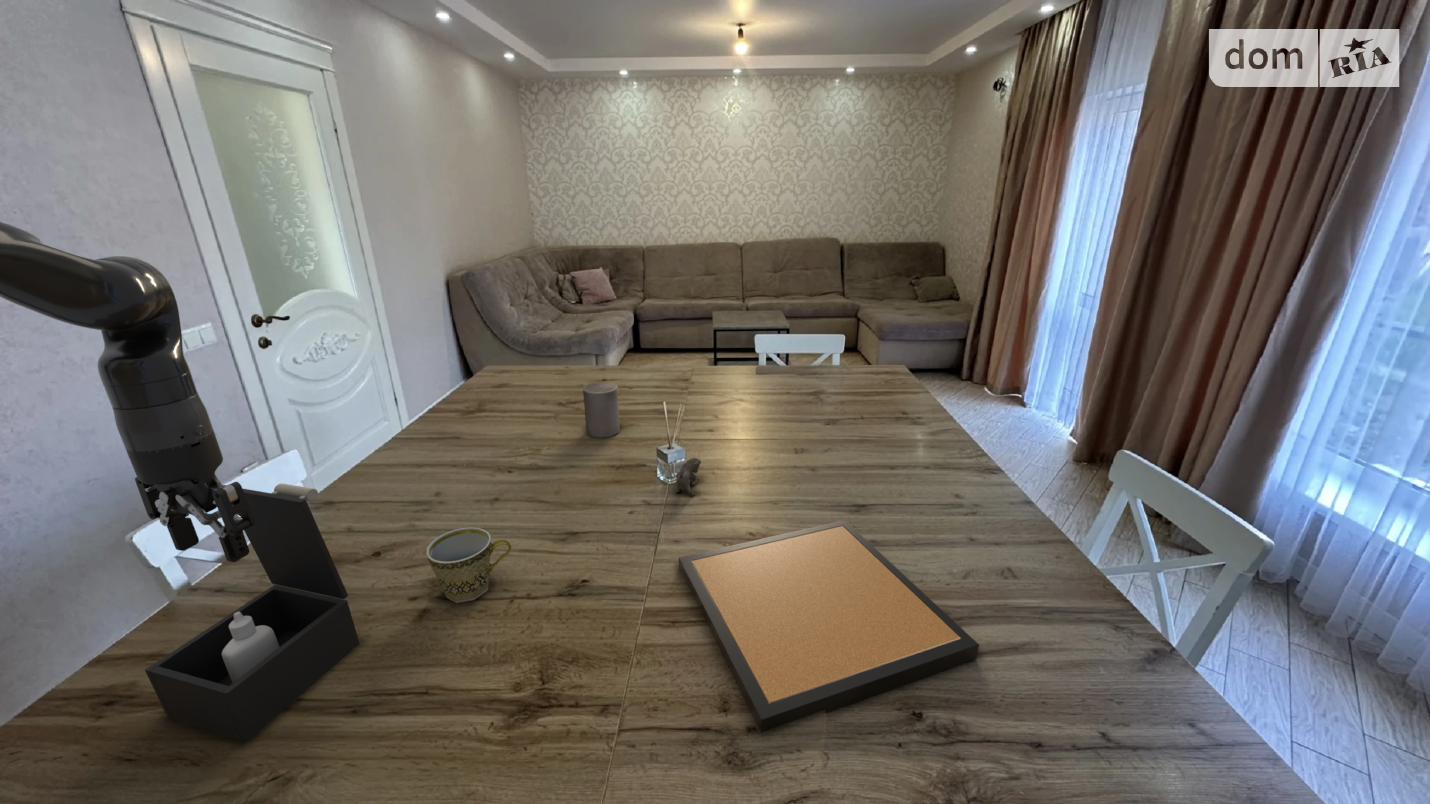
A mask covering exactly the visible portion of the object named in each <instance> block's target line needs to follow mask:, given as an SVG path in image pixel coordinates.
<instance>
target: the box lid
mask: <svg viewBox="0 0 1430 804" xmlns="http://www.w3.org/2000/svg"><path fill="white" fill-rule="evenodd" d="M242 489H243V491H244V494H245V496H246V499H247V502H248V504H249V507H250V509H251V512H252V515H253V517H254V520H255V525H253V526H251V527H249V528H247V529H245V530H243V532H244V534H245V535H246V537H247V540H248V541H249V542H250V543H249V544H250V545H251V547H252V549H253V551H254V553H255V554H256V556H257V558H258V561H259V562H260V564H261V566H262V569H264V572H265V574H266V576H267V577H268V579H269V581H270V583H271V584H272V585H279V586H284V587H288V588H293V589H298V590H302V591H307V592H311V593H316V594H321V595H325V596H330V597H334V598H339V599H343V600H346V598H348V597H349V593H348V592H347V589H346V587H345V585H344V583H343V580H342V578H341V576H340V574H339V572H338V569H337V567H336V565H335V563H334V560H333V558H332V556H331V553H330V551H329V549H328V547H327V545H326V542H325V540H324V538H323V535H322V532H321V530H320V528H319V526H318V524H317V521H316V519H315V517H314V515H313V513H312V511H311V508H310V506H309V504H308V502H313V501H315V500H316V499H317V498H318V496H319V491H318V489H316V488H313V487H306V486H301V485H294V484H287V483H281V482H280V483H277V484H276V486H274V489H273V491H272V492H267V491H266V492H265V491H259V490H254V489H248V488H243V487H242ZM238 515H239V516H240V517H241V518H242V516H241V514H240V513H238Z"/></svg>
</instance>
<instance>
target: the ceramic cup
mask: <svg viewBox="0 0 1430 804" xmlns="http://www.w3.org/2000/svg"><path fill="white" fill-rule="evenodd" d="M504 545H505V546H507V547H508V550H507V551H506V552H505V553H503V554H502V555H501V556H500V557H499V558H498V559H497V560H496V561H495V562H494V563H491V556H492V554H493V552H494V550H495V549H496V548H497V547H499V546H504ZM511 550H512V545H511V543H510V542H509V541H508V540H506V539H498V540H496V541H494V542H493V543H492V536H491V533H490V532H489V531H487V529H484V528H480V527H461V528H457V529H453V530H450V531H448V532H447V531H446V532H445V533H443V534H441V535H439V536H437V537H436V538H435V539H434V540H432V541H431V542H430V543H429V544H428V546H427V548H426V551H425V554H426V555H425V556H426V557H427V560H428V563H429V566H430V567H431V569H432V571H433V573H434V575H435V577H436V578H437V579H436V580H437V581H438V584H439V586H440V587H441V589H442V592H443V593H444V595H445V598H446V599H448V600H450V601H452V602H454V603H456V604H458V603H459V604H460V603H465V602H469V601H474V600H476V599H478V598H479V597H481V596H482V595H483V594H485V593H486V592H487V591H488V590H489V584H490V574H491V573H492V571H493V569H494V568H495V567H496V566H497V565H498V564H499V563H501V561H502V560H503V559H504V558H505V557H506V556H508V555H509V554H510V553H511Z"/></svg>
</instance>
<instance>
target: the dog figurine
mask: <svg viewBox="0 0 1430 804" xmlns="http://www.w3.org/2000/svg"><path fill="white" fill-rule="evenodd" d="M700 459H701V458H698V457H691V458H689V459H687V461H686V462H684V463H683V464H682V466H681V467H680V470H679V471H678V472H677V473H676V475H675V478H676V480H675V485H676V487H675V493H676V494H678V493H679V492H680V491H682V492H686V491H687V493H688V494H689V495H690V496H691V497H694V496H696V493H695V492H694V491H693V490H692V488H691V487H693V486H695V485H697V484H698V483H699V482H700V478H699V477H698V476H697V475H696V474H698V472H699V467H700V465H701V463H702V461H701V460H700Z"/></svg>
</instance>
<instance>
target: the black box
mask: <svg viewBox="0 0 1430 804" xmlns="http://www.w3.org/2000/svg"><path fill="white" fill-rule="evenodd" d="M236 612H241V614H242V615H243V616H251V617H252V620H253V622H254V625H255V627H256V626H260V625H265V626H268V627H270V628H272V630H273V631H274V634H275V636H276V639H277V641H278V644H279V648H278V649H277V650H276V651H274V652H273V653H272V654H270V655H269V656H268V657H266V658H265V659H264V660H263V661H261V662H260V663H259V664H257V665H256V666H255V667H253V668H252V669H251V670H250V671H248V672H247V673H246V674H244V675H243V676H242V677H240V678H239V679H238V680H236V681H235V682H234V683H232V680H231V678H230V675H229V673H228V670H227V668H226V666H225V663H224V660H223V658H222V651H223V649H224V648H225V647H226V645H227V644H228V643H229V642H230V641H231V640H232V639H233V637H232V634H231V632H230V629H229V624H230V623H231V622H232V621H233V620H234V613H236ZM359 645H360V640H359V636H358V633H357V630H356V626H355V623H354V620H353V616H352V612H351V610H350V606H349V602H348V600H347V599H340V598H336V597H331V596H326V595H322V594H317V593H313V592H308V591H303V590H299V589H294V588H290V587H285V586H281V585H276V584H272V586H270V587H269V588H267V589H265V590H263V592H261V593H259V594H258V595H256V596H255V597H254V598H252V599H251V600H248V601H247V602H246V603H244V604H243V605H242V606H240V607H238V608H237V609H235V610H234V611H232V612H231V613H229V614H228V615H226V616H225V617H223V618H222V619H220V620H219V621H217V622H215V623H213V624H212V625H210V626H209V627H208V628H207V629H205V630H203V631H201V632H199V634H197V635H196V636H193V638H191V639H189V640H188V641H186V642H185V643H184V644H181V645H180V646H179V647H178V648H176V649H174V650H173V651H171V652H170V653H168V654H166V655H165V656H164V657H162V658H161V659H159V660H157V661H156V662H155V663H152V664H151V665H149V667H147V668H146V669H144V671H145V673H146V676H147V678H148V680H149V682H150V684H151V686H152V688H153V690H154V692H155V694H156V696H157V699H158V700H159V702H160V705H161V707H162V709H163V711H164V713H165V715H166V717H167V719H168V718H169V719H171V720H175V721H178V722H181V723H184V724H188V725H191V726H194V727H197V728H201V729H204V730H207V731H211V732H212V733H217V734H219V735H223V736H225V737H229V738H233V739H236V740H239V741H242V742H244V743H245V742H246V743H248V742H250V740H252V739H253V738H254V737H255V736H256V735H257V734H259V733H260V732H261V731H262V730H263V729H264V728H265V727H267V726H268V725H269V724H270V723H271V722H272V721H273V720H275V719H276V718H277V717H278V716H279V715H280V714H281V713H283V711H285V710H286V709H287V708H289V706H290V705H291V704H293V703H294V702H295V701H296V700H297V699H298V698H299V697H301V696H302V695H303V694H304V693H305V692H307V690H308V689H310V688H311V687H312V686H313V685H314V684H315V683H317V681H319V680H320V679H321V678H322V677H323V676H325V674H327V673H328V672H329V671H330V670H332V668H333V667H335V666H336V665H337V664H338V663H339V662H341V660H342V659H344V658H345V657H346V656H348V654H350V652H352V651H353V650H354V649H355V648H356V647H358V646H359Z"/></svg>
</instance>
